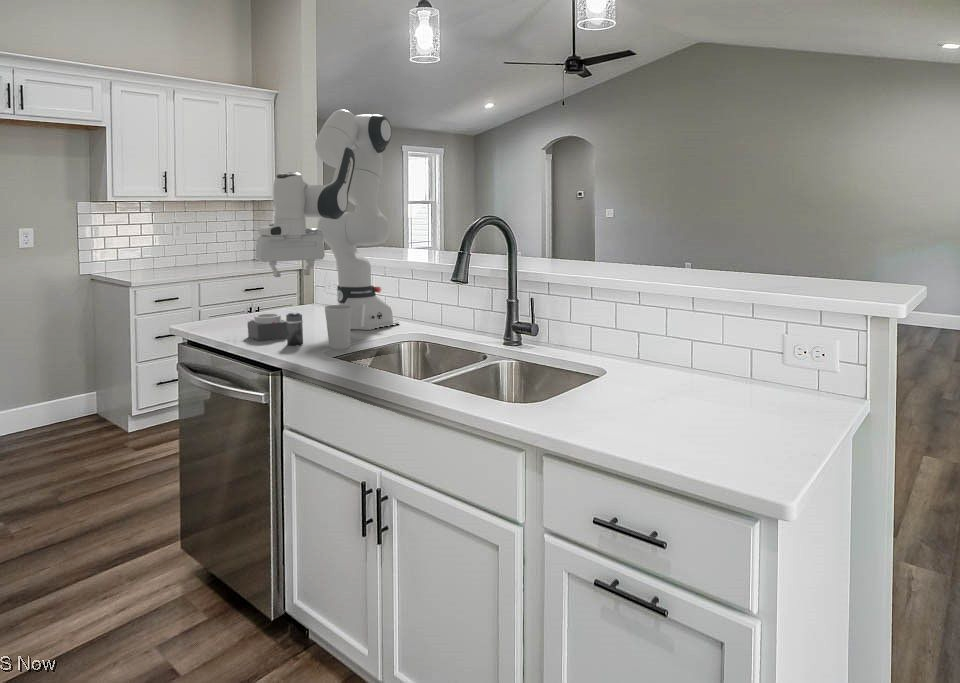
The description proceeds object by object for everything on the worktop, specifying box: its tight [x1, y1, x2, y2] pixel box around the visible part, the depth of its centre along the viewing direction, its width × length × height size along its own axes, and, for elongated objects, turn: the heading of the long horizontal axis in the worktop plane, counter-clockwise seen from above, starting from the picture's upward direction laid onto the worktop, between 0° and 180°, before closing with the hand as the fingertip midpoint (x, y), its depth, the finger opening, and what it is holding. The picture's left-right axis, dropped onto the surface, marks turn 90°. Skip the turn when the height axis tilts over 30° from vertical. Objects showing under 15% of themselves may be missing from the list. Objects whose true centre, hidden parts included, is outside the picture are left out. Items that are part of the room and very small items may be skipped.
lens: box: [285, 312, 304, 347], centre depth 210 cm, size 5×5×9 cm
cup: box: [324, 304, 352, 350], centre depth 207 cm, size 8×8×12 cm
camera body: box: [247, 313, 287, 342], centre depth 220 cm, size 10×9×7 cm
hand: (292, 276), depth 207 cm, fingers open, 8 cm apart
